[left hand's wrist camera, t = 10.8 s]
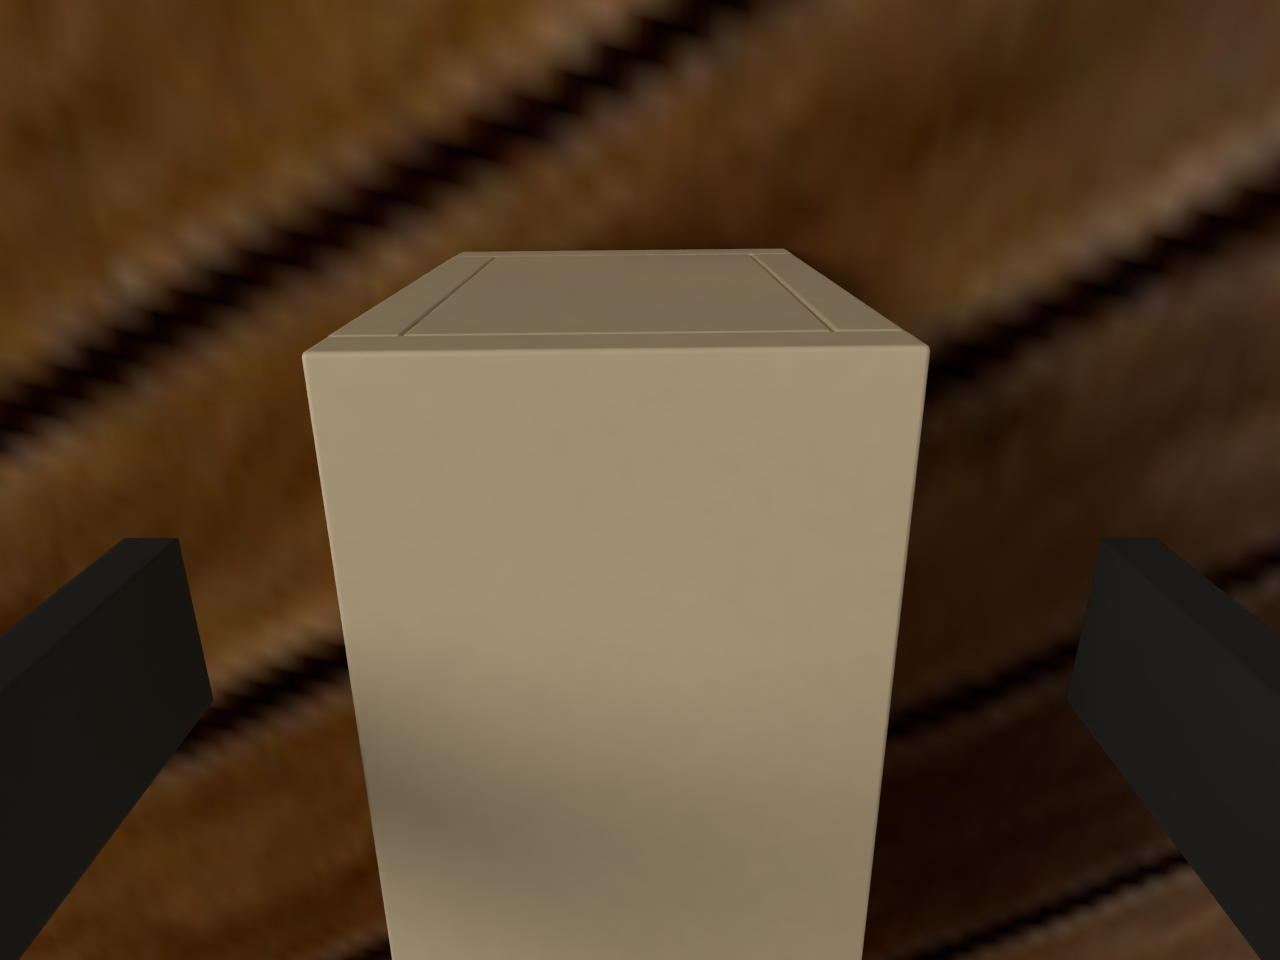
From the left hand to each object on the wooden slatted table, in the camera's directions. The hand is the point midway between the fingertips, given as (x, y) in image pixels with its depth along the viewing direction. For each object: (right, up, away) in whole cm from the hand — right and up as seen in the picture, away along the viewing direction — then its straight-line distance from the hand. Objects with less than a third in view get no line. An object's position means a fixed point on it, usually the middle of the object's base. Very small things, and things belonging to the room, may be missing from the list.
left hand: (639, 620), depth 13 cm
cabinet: (0, -3, +9) cm, 10 cm away
